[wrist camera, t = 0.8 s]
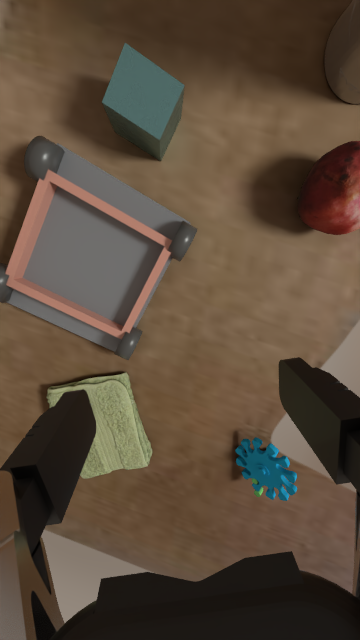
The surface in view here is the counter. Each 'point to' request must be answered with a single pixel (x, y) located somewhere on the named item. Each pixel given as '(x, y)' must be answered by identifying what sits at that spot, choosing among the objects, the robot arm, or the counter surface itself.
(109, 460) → the washcloth
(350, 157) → the fruit
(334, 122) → the counter surface
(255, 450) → the gear
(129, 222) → the chassis
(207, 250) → the counter surface
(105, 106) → the teal glassy cube
